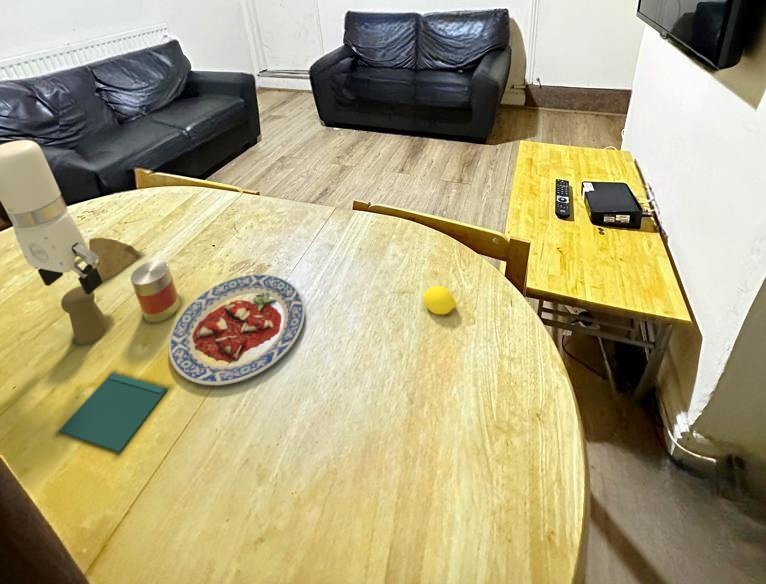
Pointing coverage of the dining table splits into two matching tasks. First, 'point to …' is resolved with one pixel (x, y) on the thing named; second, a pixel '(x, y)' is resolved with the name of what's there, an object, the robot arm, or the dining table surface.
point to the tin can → (155, 290)
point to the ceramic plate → (235, 329)
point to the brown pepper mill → (84, 315)
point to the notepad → (114, 412)
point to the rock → (112, 256)
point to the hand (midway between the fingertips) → (74, 284)
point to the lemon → (439, 300)
